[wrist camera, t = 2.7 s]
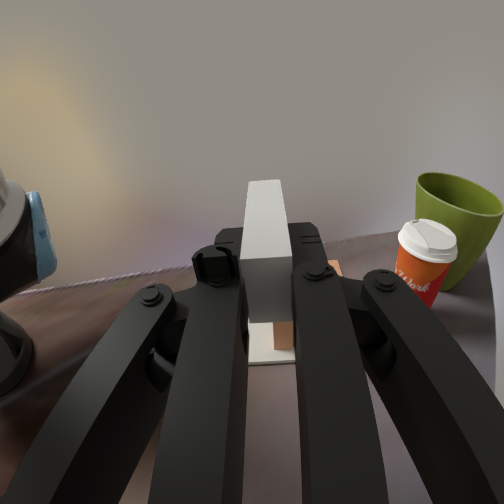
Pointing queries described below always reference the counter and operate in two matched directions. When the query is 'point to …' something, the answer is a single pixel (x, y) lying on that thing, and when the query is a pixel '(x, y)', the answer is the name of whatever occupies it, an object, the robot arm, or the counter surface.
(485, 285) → the counter surface
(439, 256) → the paper cup
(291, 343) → the card box
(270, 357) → the mat
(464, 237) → the flower pot
